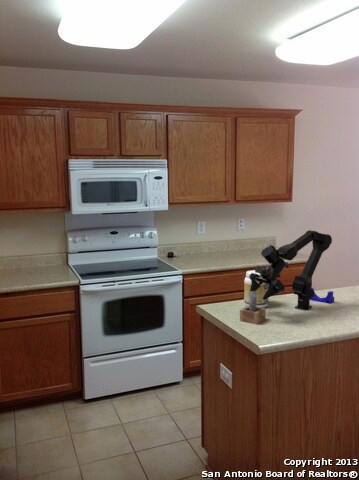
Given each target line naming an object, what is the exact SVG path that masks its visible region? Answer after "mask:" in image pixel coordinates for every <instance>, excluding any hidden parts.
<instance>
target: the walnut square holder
mask: <svg viewBox="0 0 359 480" xmlns="http://www.w3.org/2000/svg"><path fill="white" fill-rule="evenodd" d="M265 320H266V307H264V308H260V307H256V312H253V311H249V306H245V307H243V308H241V309H240V310H239V321H240V322H244V323H247V324H254V325H258V324H260V323H262V322H263V321H265Z"/></svg>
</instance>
